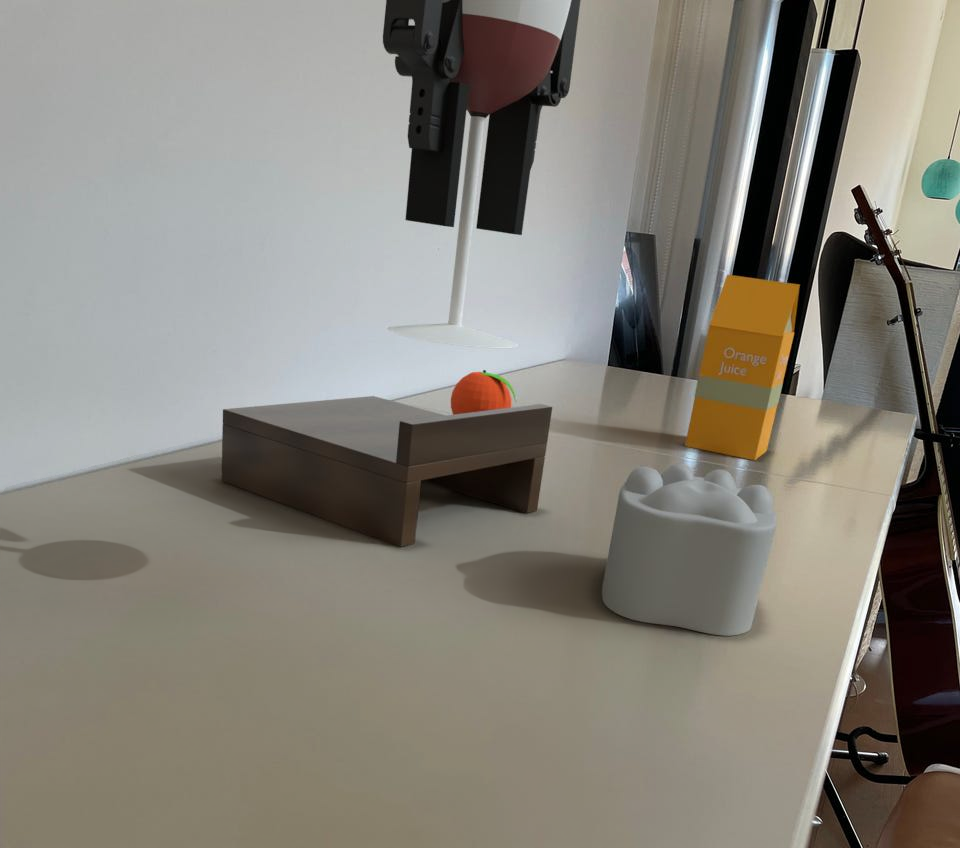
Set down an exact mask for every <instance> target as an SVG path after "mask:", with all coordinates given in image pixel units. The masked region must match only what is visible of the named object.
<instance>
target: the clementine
mask: <svg viewBox="0 0 960 848" xmlns="http://www.w3.org/2000/svg"><path fill="white" fill-rule="evenodd" d="M511 393H512V395H513V398H514V401H515V402H517V399H516V392H515V391H514V389H513V386H512V385H511V384H510V383H509V382H508V381H507V379H505V378H504V377H502V376H500V375H498V374H495V373H491V372H487V370H486V369H483V370H482V371H473V372H470V373H468V374H467V375H465V376H463V377H461V378H460V379H459V381H458V382H456V384H455V386H454V388H453V390H452V392H451V395H450V397H451V398H450V409H451V413H452V415H455V414H463V413H471V412H480V411H488V410H496V409H505V408H512V396H511Z"/></svg>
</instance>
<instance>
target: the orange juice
mask: <svg viewBox="0 0 960 848" xmlns="http://www.w3.org/2000/svg"><path fill="white" fill-rule="evenodd" d="M800 286H801V284H798V283H791V282H783V281H777V280H769V279H762V278H755V277H747V276H740V275H734V274H726V276H725V280H724V282H723V285H722V288H721V291H720V294H719V296H718V299H717V302H716V304H715V307H714V311H713V313H712V316H711V319H710V322H709V324H708V330H707V335H706V338H705V339H706V340H705V344H704V350H703V354H702V355H703V356H702V359H701V365H700V369H699V374H698V377H697V382H696V387H695V392H694V399H693V404H692V408H691V414H690V419H689V423H688V429H687V434H686V439H685V444H684V447H688V448H692V449H693V448H694V449H698V450H703V451H707V452H713V453H717V454H722V455H726V456H733V457H736V458H737V457H738V458H742V459H747V460H750V461H756V460H758V458H760V457H761V456H762V455H764V454H765V453H767V451H768V448H769V447H768V446H769V443H770V440H771V439H770V438H771V435H772V430H773V426H774V421H775V417H776V413H777V408H778V405H779V402H780V398H781V393H782V389H783V384H784V378H785V376H786V375H785V374H786V371H787V366H788V361H789V358H790V353H791V350H792V344H793V341H794V336H795V327H796V326H795V325H796V317H797V311H798V310H797V309H798V302H799V295H800Z"/></svg>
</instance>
